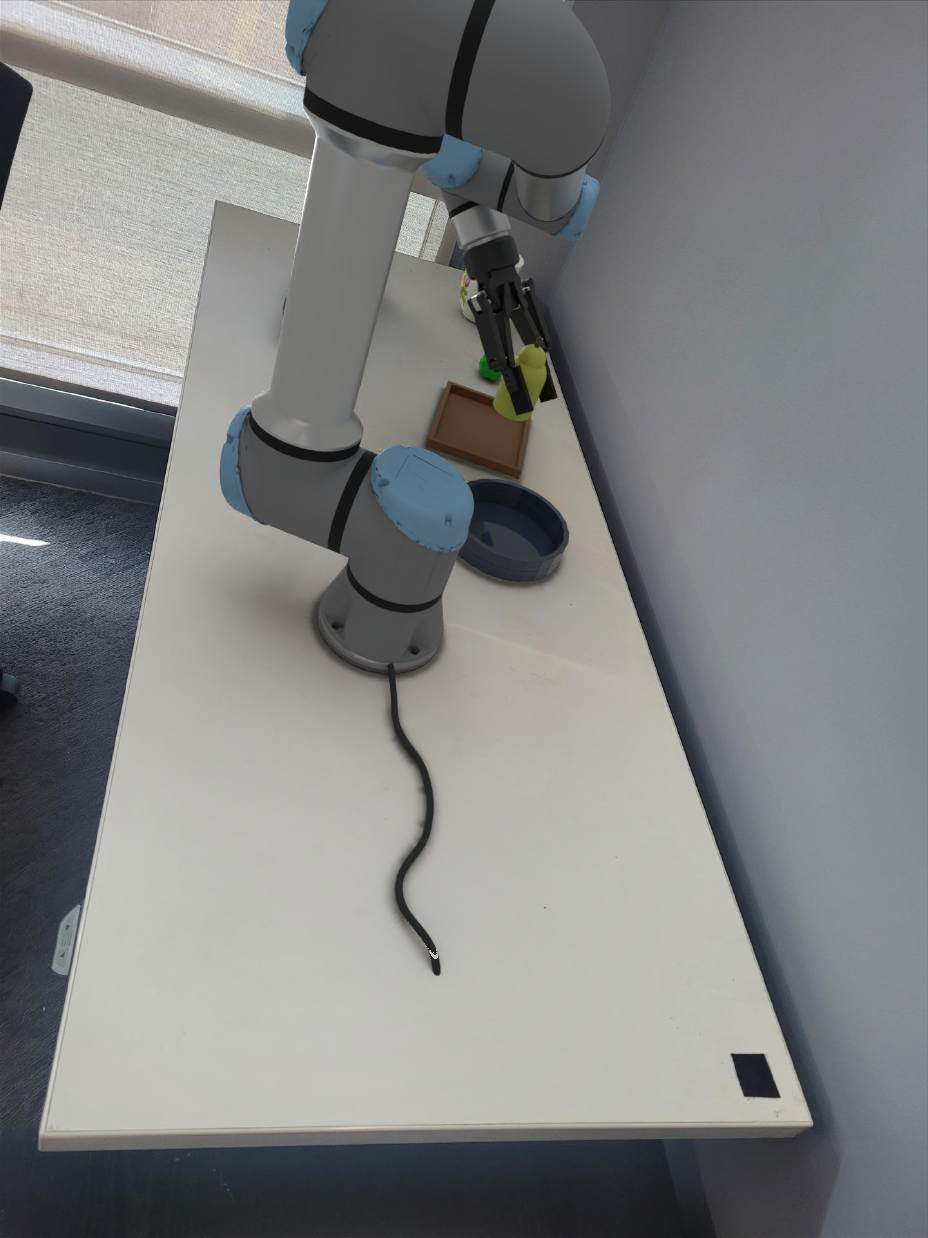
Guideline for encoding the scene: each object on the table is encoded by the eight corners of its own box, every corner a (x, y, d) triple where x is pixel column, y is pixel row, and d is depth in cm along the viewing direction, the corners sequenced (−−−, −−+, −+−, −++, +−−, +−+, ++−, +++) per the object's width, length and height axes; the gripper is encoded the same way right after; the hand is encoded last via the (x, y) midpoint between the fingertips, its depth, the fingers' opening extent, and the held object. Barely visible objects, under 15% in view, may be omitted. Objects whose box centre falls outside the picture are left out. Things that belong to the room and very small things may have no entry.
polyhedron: (506, 381, 153) (515, 358, 149) (489, 386, 149) (497, 363, 146) (487, 367, 154) (495, 344, 151) (470, 371, 151) (478, 348, 148)
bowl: (553, 599, 114) (565, 577, 111) (433, 559, 112) (442, 535, 109) (561, 524, 127) (572, 502, 124) (453, 487, 125) (461, 464, 122)
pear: (528, 426, 121) (558, 353, 112) (490, 412, 120) (517, 338, 112) (532, 405, 125) (561, 335, 117) (495, 392, 124) (522, 320, 116)
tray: (517, 481, 131) (521, 471, 130) (424, 449, 130) (428, 438, 128) (528, 420, 145) (532, 410, 144) (444, 390, 144) (448, 380, 142)
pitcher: (457, 334, 160) (478, 266, 150) (449, 291, 172) (468, 226, 162) (510, 347, 163) (534, 281, 153) (498, 304, 175) (520, 240, 166)
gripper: (503, 242, 122) (549, 395, 129) (424, 262, 109) (481, 430, 116) (544, 224, 117) (590, 383, 124) (466, 242, 104) (522, 419, 111)
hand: (537, 406), depth 120 cm, fingers closed on pear, 6 cm apart
